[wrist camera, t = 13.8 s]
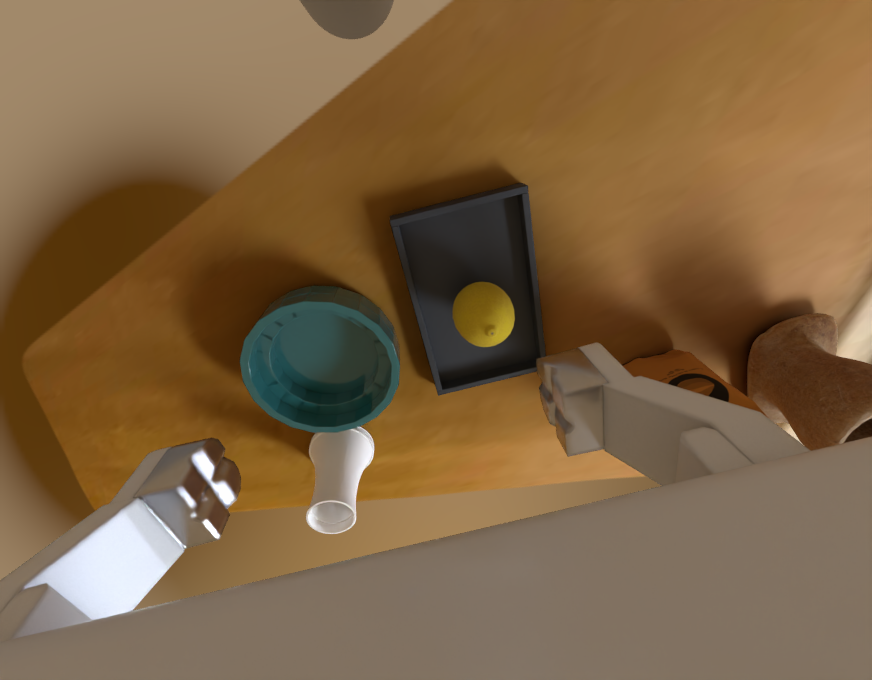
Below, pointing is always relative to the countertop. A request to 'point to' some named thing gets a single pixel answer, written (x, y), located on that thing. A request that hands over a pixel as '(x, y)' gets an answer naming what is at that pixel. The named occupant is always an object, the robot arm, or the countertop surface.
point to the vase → (337, 477)
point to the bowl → (322, 360)
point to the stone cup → (810, 382)
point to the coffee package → (688, 376)
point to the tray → (463, 265)
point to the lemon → (483, 314)
